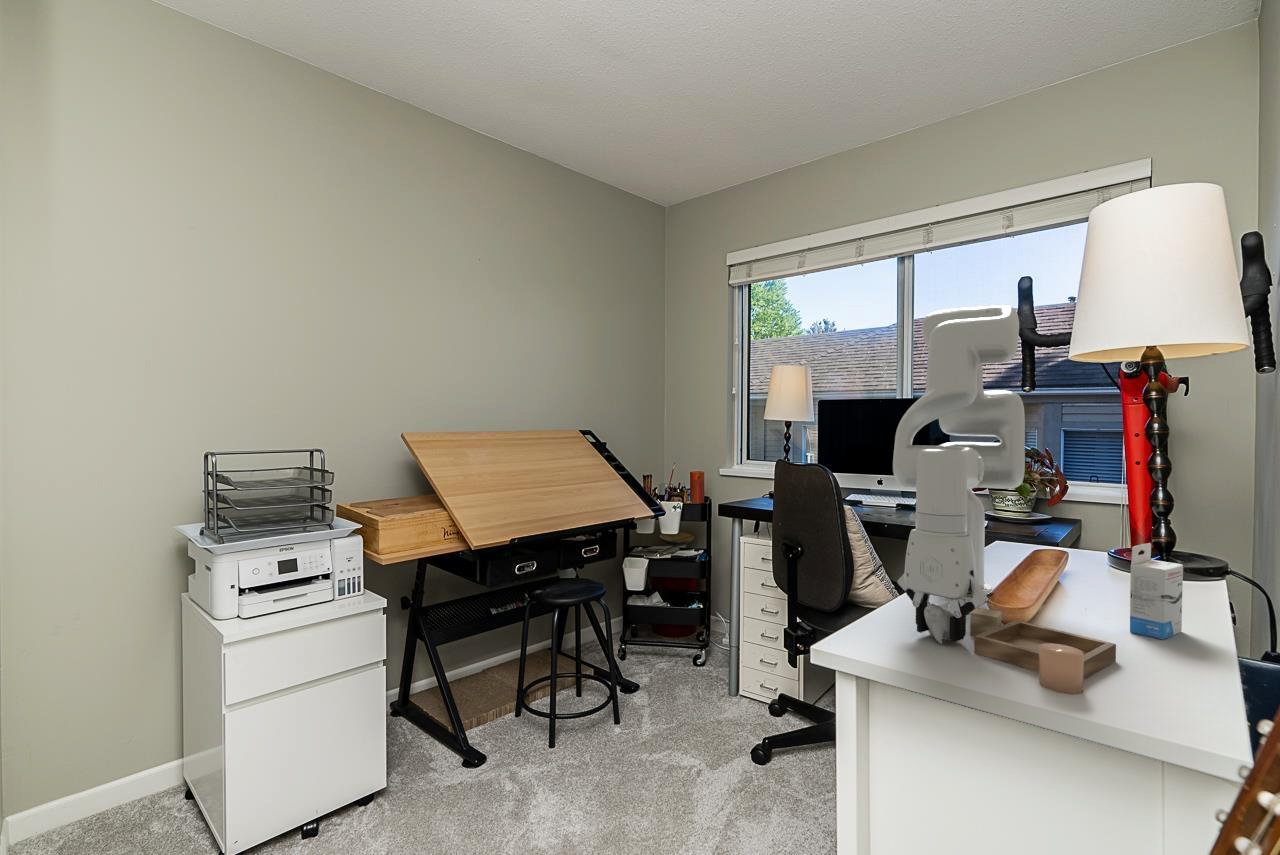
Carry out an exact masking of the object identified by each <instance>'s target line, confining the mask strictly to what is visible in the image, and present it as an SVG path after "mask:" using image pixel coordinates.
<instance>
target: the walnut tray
mask: <svg viewBox="0 0 1280 855" xmlns="http://www.w3.org/2000/svg"><path fill="white" fill-rule="evenodd" d="M973 640H974V650H973V651H974V654H978V655H979V656H984V657H986V658H987V657H988V658H990V659H994V660H998V661H1002V662H1004V663H1008V664H1011V665H1014V666H1018V667H1020V668H1021V667H1022V668H1023V669H1024V668H1025V669H1029V670H1032V671H1035V672H1038V673H1039V645H1041V644H1045V643H1053V644H1061V645H1067V646H1071V647H1074V648H1077V649H1079V650H1081V651H1082V652H1083V653H1084V666H1083V681H1085V680H1086V679H1088V678H1090V677H1092V676H1093V675H1095V674H1096V673H1098V672H1100V671H1102V670H1103V669H1105V668H1107V667H1108V666H1110V665H1112V664H1114V663H1115V662H1116V661H1117V644H1116V643H1113V642H1110V641H1109V642H1108V641H1107V640H1106V641H1104V640H1101V639H1097V638H1093V637H1088V636H1084V635H1080V634H1077V633H1076V634H1075V633H1072V632H1067V631H1064V630H1060V629H1055V628H1051V627H1046V626H1042V625H1038V624H1033V623H1029V622H1026V621H1021V620H1017V619H1016V620H1013V621H1011V622H1008V623H1005V624H1002V626H1000V627H997V628H994V629H992V630H989V631H987V632H984V633H981V634H979V635H976V636H975V637H974V639H973Z"/></svg>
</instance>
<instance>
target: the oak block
mask: <svg viewBox="0 0 1280 855" xmlns="http://www.w3.org/2000/svg"><path fill="white" fill-rule="evenodd" d="M969 615H970V616H969V620H970V621H969V622H970V624H969V630H970V631H969V634H970V635H969V637H974V638H975V636H976V635H979V634H981V633H984V632H987V631H989V630H992V629H994V628H997V627H1000V626H1002V625H1003V612H1002V611H1000V610H999V611H998V610H994V609H987V608H982V607H981V608H980V607H977V608H976V609H974V610H973V611H972V612H970V613H969Z"/></svg>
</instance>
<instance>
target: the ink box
mask: <svg viewBox="0 0 1280 855" xmlns="http://www.w3.org/2000/svg"><path fill="white" fill-rule="evenodd" d="M1141 551H1142V552H1143V553H1142V554H1139V553H1140V552H1141ZM1151 553H1152V543H1151V542H1148V543H1141V544H1138V545H1134V546H1132V549H1131V560H1130V561H1131V562H1130V563H1131V564H1130V592H1129V593H1130V595H1129V596H1130V597H1129V602H1130V603H1129V632H1130V633H1133V634H1138V635H1141V636H1146V637H1149V638H1154V639H1159V640H1166V639H1168V638H1171V637H1173V636H1174V635H1177V634H1179V633H1181V632H1182V629H1183V628H1182V624H1183V622H1182V621H1183V580H1184V578H1183V577H1184V565H1183V564H1181V563H1176V562H1170V561H1168V562H1167V561H1162V560H1155V559H1151V555H1152V554H1151Z"/></svg>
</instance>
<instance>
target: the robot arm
mask: <svg viewBox="0 0 1280 855" xmlns="http://www.w3.org/2000/svg"><path fill="white" fill-rule="evenodd" d="M921 332H922V333H921V334H922V337H923V340H924V343H925V346H926V347H927V349H928V351H927V361H926V362H927V366H926V379H925V392H924V394H923V395H922V396H921V397H920V398H918V399H917V400H916V401H915V402H914V403H913V404H912V405H911V406H910V407H909V408H908V409H907V410H906V412H905V413H904V414H903V416H902V417H901V419H900V421H899V423H898V426H897V428H896V432H895V436H894V446H893V447H894V449H893V457H892V458H893V459H892V473H893V477H894V479H895V480H896V482H897V483H898V484H900V485H902V486H904V487H907V488H915V489H916V490H915V491H916V492H915V495H916V496H915V513H913V512H912V513H910V514H909V518H908V519H909V521H911V522H914V524H915V528H913V529H911V530H910V533H909V536H908V541H907V547H906V551H905V552H906V553H905V560H904V562H905V563H904V573H903V574H902V575H901V576H900V577H899V578H898V580H897V584H898V586H900V588H901V589H902V590H903V591H904V592H905V593H906V594H905V595H907V596H908V598H909V599H910V600H911V603H912V606H913V607H914V608H915V624H916V632H918V633H923V632H927V631H928V630H930V629H929V627H928V626H927V624H926V620H925V616H924V610H925V608H926V606H927V605H929V604H928V603H927V601H929V600H930V597H931V596H935V597H940V598H944V599H948V600H949V601H950V605H951V608H952V609H951V610H952V612H953V616H951V617H950V640H949V641H950V642H952V643H957V642H959V641H962V640H964V638H965V637H966V634H967V633H966V632H967V616H969V615H970V613H971V612H972V611H973V610H974V609H976V608H980V606H983V605H984V604H986V603H988V602H989V598H988V595H987V594H988V593H990V592H991V591H992V592H993V586H992V585H991V584H989V583H987V582H985V542H986V541H985V540H986V539H985V538H986V537H985V534H986V532H985V531H986V529H985V524H986V523H985V522H986V520H985V515H986V513H985V507H984V504H983V503H982V501H981V500H980V499H979V497H977V495H976V494H975V493H974V492H973V491H972V489H975V488H985V489H986V488H987V489H1002V490H1003V489H1007V490H1009V489H1016V488H1018V487H1020V486H1021V485H1022V483H1023V481H1024V478H1025V472H1026V470H1025V468H1026V463H1025V462H1026V452H1025V451H1026V448H1025V447H1026V446H1025V445H1026V442H1025V439H1026V430H1025V427H1026V419H1025V417H1026V416H1025V406H1024V402H1023V399H1022V398H1021V396H1020V395H1019V394H1018V393H1016V392H1014V391H1012V390H1011V391H1010V390H985V389H984V384H983V383H984V380H983V379H984V369H983V365H982V364H1002V363H1003V364H1004V363H1008V362H1010V361H1012V360H1013V359H1014V358H1015V355H1016V354H1017V352H1018V351H1017V350H1018V346H1019V345H1018V344H1019V336H1020V334H1019V333H1020V319H1019V315H1018V312H1017V311H1016V309H1015V308H1014V307H1013V306H1010V305H1002V304H1001V305H991V306H977V307H960V308H949V309H943V310H937V311H934V312H931V313H928V314H927V315H925V316H924V318H923V320H922V321H921ZM935 420H938V423H939V424H938V425H939V429H941V431H942V432H943V433H945V434H946V435H950V436H959V437H960V436H961V437H965V436H966V437H995V438H997V439H998V440H999V441H1000V442H978V441H951V442H945V443H941V444H938V445H922V444H921V445H920V444H919V445H918V444H915V445H914V444H913V441H914V437H915V436H916V434H917V433H918V432H919V431H920V430H921V429H922V428H923V427H924V426H926V425H928V424H929V423H931V422H933V421H935ZM967 597H972V599H970V600H969V601H968V600H967ZM929 602H930V601H929Z"/></svg>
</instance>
